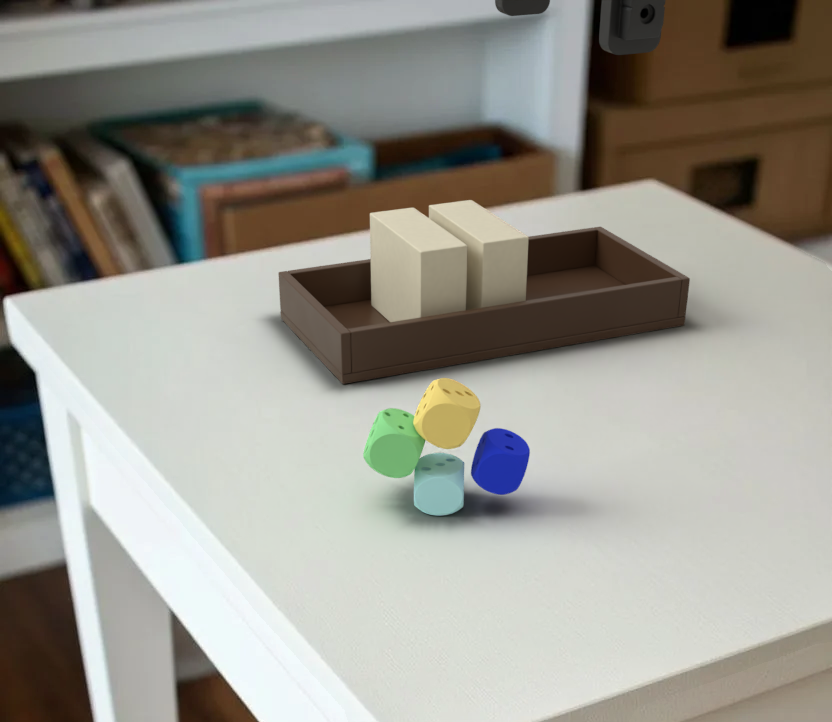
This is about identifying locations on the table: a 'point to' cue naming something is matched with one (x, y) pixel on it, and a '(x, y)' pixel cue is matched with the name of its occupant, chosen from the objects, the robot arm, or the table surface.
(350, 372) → the tray
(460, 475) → the dice
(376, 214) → the block
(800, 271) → the table surface
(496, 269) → the block
